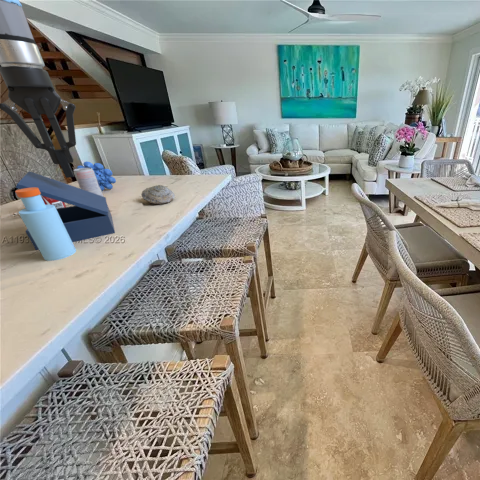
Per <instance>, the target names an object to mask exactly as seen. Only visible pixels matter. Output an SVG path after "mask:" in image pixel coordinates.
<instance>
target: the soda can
mask: <svg viewBox="0 0 480 480" xmlns="http://www.w3.org/2000/svg"><path fill="white" fill-rule="evenodd" d="M44 176H45V177H48V178H51V179H53V178H52V177H51V176H50V175H44ZM41 197H42V199H43V201H44V203H45V205H54V206H55V208H56V209H57V208H64V207H67V205H66V203H64V202H61V201H58V200H55V199H51V198H48V197H45V196H41Z"/></svg>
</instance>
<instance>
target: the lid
mask: <svg viewBox="0 0 480 480" xmlns="http://www.w3.org/2000/svg"><path fill="white" fill-rule="evenodd" d="M45 176H46V175H41V174H39V173H36V172H33V171H30V170H29V171H28V172H27V173H26V174H25V175H23V177H22V178H21V179H20V180H19V181H18V183H16V185H15V189H17V190H19V189H24V188H32V187H37V188H39V190H40V192H41V194H40V195H41V196H45V197H48V198H51V199H55V200H58V201H61V202H64V203H65V204H67V205H71V206H78V207H81V208H84V209H87V210H91V211H94V212H97V213H101V214H104V215H107V214H108V208H109V207H108V208H107V205H108V202H107V197H106V196H104V195H103V196H104V197H103V196H100V195H97V194H94V193H91V192H88V191H85V190H83V189H80V187H77V186H73V185H71V184H68V183H65V182H62V181H59V180H56V179H53V178H52V177H51V178H52V179H51V178H48V177H45Z"/></svg>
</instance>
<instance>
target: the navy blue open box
mask: <svg viewBox="0 0 480 480" xmlns="http://www.w3.org/2000/svg"><path fill="white" fill-rule="evenodd" d="M107 208H108V214H107V215H104V214H101V213H97V212H94V211H91V210H87V209H84V208H81V207H78V206H74V205H71V206H66V207H64V208H57V209H56V210H57V212H58V214H59V216H60V218H61V220H62V222H63V224H64V226H65V228H66V230H67V232H68V234H69V236H70V238H71V240H72V242H73V243H76V242H81V241H85V240H90V239H95V238H98V237H99V238H100V237H103V236H108V235H112V234H115V233H116V230H115V226H114V221H113V216H112V213H111V210H110V208H109V205H108V204H107ZM25 233H26V236H27V237H28V239H29V241H30V242H31V245H32V246H33V248H34V249H35V251H40V250H39V249H38V247H37V245H36V243H35V241H34V240H33V238H32V236H31V234H30V233H29V231H28V229H27V228H26V229H25Z"/></svg>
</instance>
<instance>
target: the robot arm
mask: <svg viewBox="0 0 480 480" xmlns="http://www.w3.org/2000/svg"><path fill="white" fill-rule="evenodd" d="M45 66H46V65H45V62H44V59H43V56H42V54H41V52H40V50H39V47H38V45H37V43H36V41H35V38H34V36H33V34H32V30H31V28H30V25H29V22H28V20H27V17H26V14H25V11H24V9H23V5H22V3H21V1H20V0H0V75H1V77H2V79H3V81H4V84H5V86H6V88H7V90H8V92H7V93H8V94H7V97H8V99H6V100H5V101H3V102H1V103H0V110H1V111H3V112H4V113H6V114H7V115H9V117H10V118H11V119H12V120H13V122H14V123H15V124H16V125H17V127H18V128H19V129H20V130H21V132H22V133H23V134H24V135H25V137H26V138H27V139H28V140H29V142H31V144H32V146H33V147H34V148H36V149H39V150H45V151H47V152H48V154H49V156H50V159H51V161H52V163H53V164H54V165H60V168H61V170H62V172H63V174H64V177H65V179H69V178H74V177H75V175H74V170H73V169H72V166H71V164H73V163H74V158H73V155H72V152H71V150H70V149H72V148H73V147H76V145H77V138H76V129H75V119H74V113H75V110H76V104H75V103H71V102H68V101H66V100H64V99H62V97H61V96H60V95H59V93H58V92H57V91H56V89H55V88H54V84H53V82H52V80H51V77H50V75H49V72H48V71H47V70H46V69H44V67H45ZM60 105H61V106H62V109H63V111H65V118H66V127H67V137H68V141H67V140H66V138H65V136H64V133H63V131H62V129H61V126H60V125H59V121H58V118H57V116H56V113H57V111H58V110H59V107H60ZM17 107H19V108H20V109H22V110H23V111H24V112H26V113H28V114H29V115H30V116H31V119H32V120H33V122H34V124H35V126H36V129H37V131H38V134H40V137H41V140H42V141H41V140H40V139H39V138H38V136H37V135H36V134H35V133H34V131H33V129H32V128H31V127H30V126H29V125H28V123H27V122H26V121H25V119H23V117H22V116H21V114H20V113H19V112H17V111H18V108H17ZM42 115H46V117H47V119H48V122H49V124H50V126H51V129H52V131H53V134H54V135H55V137H56V140H57V142H58V144H59V146H60V148H58V149H56V148H55V147H56V146H54V144H53V141H52V139H51V137H50V134H49V133H48V129H47V127H46V125H45V123H44V121H43V117H42Z"/></svg>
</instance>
